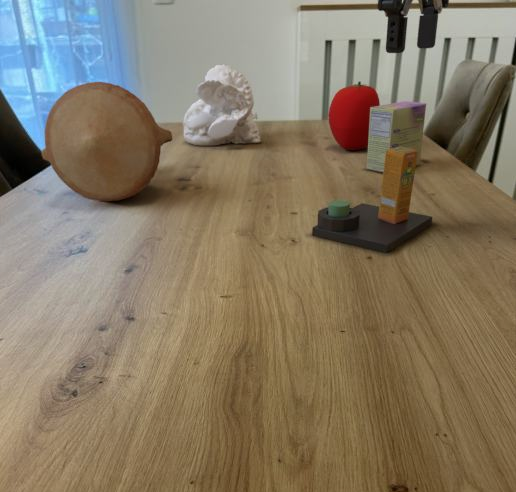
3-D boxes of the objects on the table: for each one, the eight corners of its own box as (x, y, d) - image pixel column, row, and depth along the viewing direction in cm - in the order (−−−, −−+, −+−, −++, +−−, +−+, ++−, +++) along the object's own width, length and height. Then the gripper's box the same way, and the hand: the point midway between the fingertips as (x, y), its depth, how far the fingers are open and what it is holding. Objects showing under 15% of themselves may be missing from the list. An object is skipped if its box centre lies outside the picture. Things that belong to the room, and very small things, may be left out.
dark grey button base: (358, 209, 89) (360, 191, 88) (431, 224, 82) (434, 204, 81) (309, 234, 80) (309, 214, 78) (386, 253, 73) (388, 231, 72)
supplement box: (396, 225, 79) (403, 152, 74) (377, 219, 81) (383, 149, 76) (410, 219, 81) (418, 148, 75) (391, 214, 83) (398, 145, 78)
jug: (4, 141, 85) (53, 130, 112) (94, 234, 92) (120, 203, 119) (95, 50, 81) (123, 61, 108) (183, 154, 88) (189, 140, 115)
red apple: (365, 156, 121) (370, 85, 114) (318, 151, 126) (320, 83, 119) (385, 145, 130) (391, 79, 123) (341, 141, 135) (344, 77, 128)
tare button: (335, 210, 81) (336, 198, 80) (353, 214, 79) (353, 202, 78) (324, 216, 79) (324, 204, 78) (342, 219, 77) (342, 207, 76)
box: (397, 160, 117) (403, 100, 111) (420, 165, 113) (427, 102, 107) (365, 169, 111) (369, 106, 105) (387, 174, 107) (393, 109, 101)
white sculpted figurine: (171, 98, 143) (233, 51, 135) (217, 164, 152) (277, 123, 144) (151, 114, 128) (219, 62, 120) (203, 186, 136) (269, 142, 128)
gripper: (430, -130, 54) (413, 55, 63) (483, -113, 64) (462, 46, 72) (364, -117, 59) (355, 54, 67) (422, -103, 68) (409, 46, 76)
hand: (410, 50), depth 70 cm, fingers open, 8 cm apart
